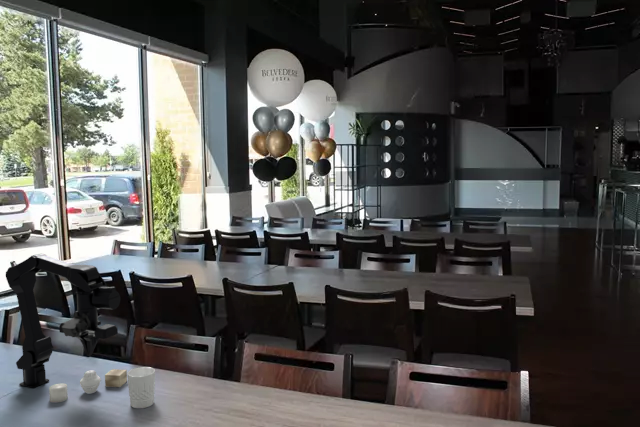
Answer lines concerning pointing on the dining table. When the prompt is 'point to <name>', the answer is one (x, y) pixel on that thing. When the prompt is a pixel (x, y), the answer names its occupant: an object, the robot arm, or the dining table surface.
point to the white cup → (141, 386)
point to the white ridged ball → (90, 382)
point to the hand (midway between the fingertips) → (89, 355)
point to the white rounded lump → (58, 393)
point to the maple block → (115, 378)
